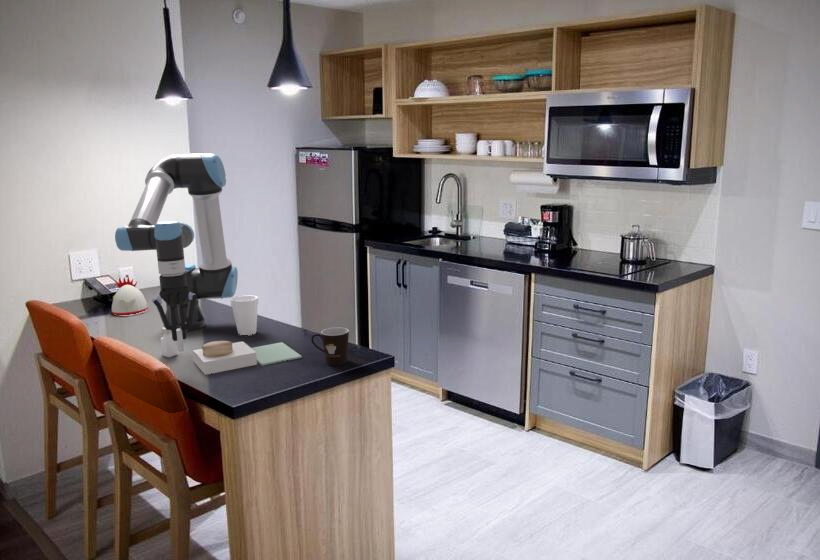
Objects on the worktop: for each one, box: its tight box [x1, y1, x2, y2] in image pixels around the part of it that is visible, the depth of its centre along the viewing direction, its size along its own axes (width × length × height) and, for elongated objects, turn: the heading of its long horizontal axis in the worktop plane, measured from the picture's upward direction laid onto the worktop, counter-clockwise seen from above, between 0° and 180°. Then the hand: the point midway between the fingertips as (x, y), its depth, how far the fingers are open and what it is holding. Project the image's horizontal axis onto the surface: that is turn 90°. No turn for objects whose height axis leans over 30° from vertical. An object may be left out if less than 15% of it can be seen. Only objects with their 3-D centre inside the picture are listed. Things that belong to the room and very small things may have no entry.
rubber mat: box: [250, 342, 302, 367], centre depth 221 cm, size 18×13×1 cm
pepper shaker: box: [160, 326, 179, 358], centre depth 222 cm, size 4×4×10 cm
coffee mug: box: [310, 326, 350, 366], centre depth 211 cm, size 12×9×10 cm
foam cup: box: [230, 294, 259, 336], centre depth 245 cm, size 10×9×13 cm
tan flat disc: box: [201, 340, 233, 357], centre depth 212 cm, size 9×9×2 cm
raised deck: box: [192, 340, 258, 376], centre depth 213 cm, size 14×16×4 cm
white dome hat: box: [111, 276, 149, 315], centre depth 280 cm, size 14×14×15 cm
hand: (180, 350), depth 206 cm, fingers closed
